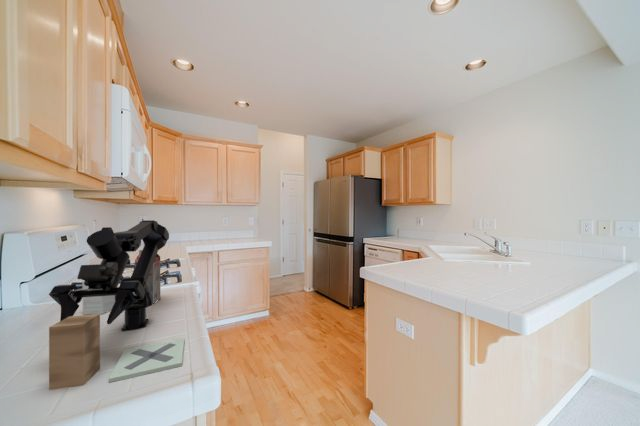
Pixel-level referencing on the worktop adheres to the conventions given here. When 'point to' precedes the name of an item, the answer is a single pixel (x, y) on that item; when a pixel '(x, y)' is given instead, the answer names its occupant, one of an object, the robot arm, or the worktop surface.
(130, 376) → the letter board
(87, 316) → the walnut block
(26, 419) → the worktop surface
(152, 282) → the juice carton
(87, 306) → the supplement box
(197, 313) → the worktop surface
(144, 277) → the robot arm
